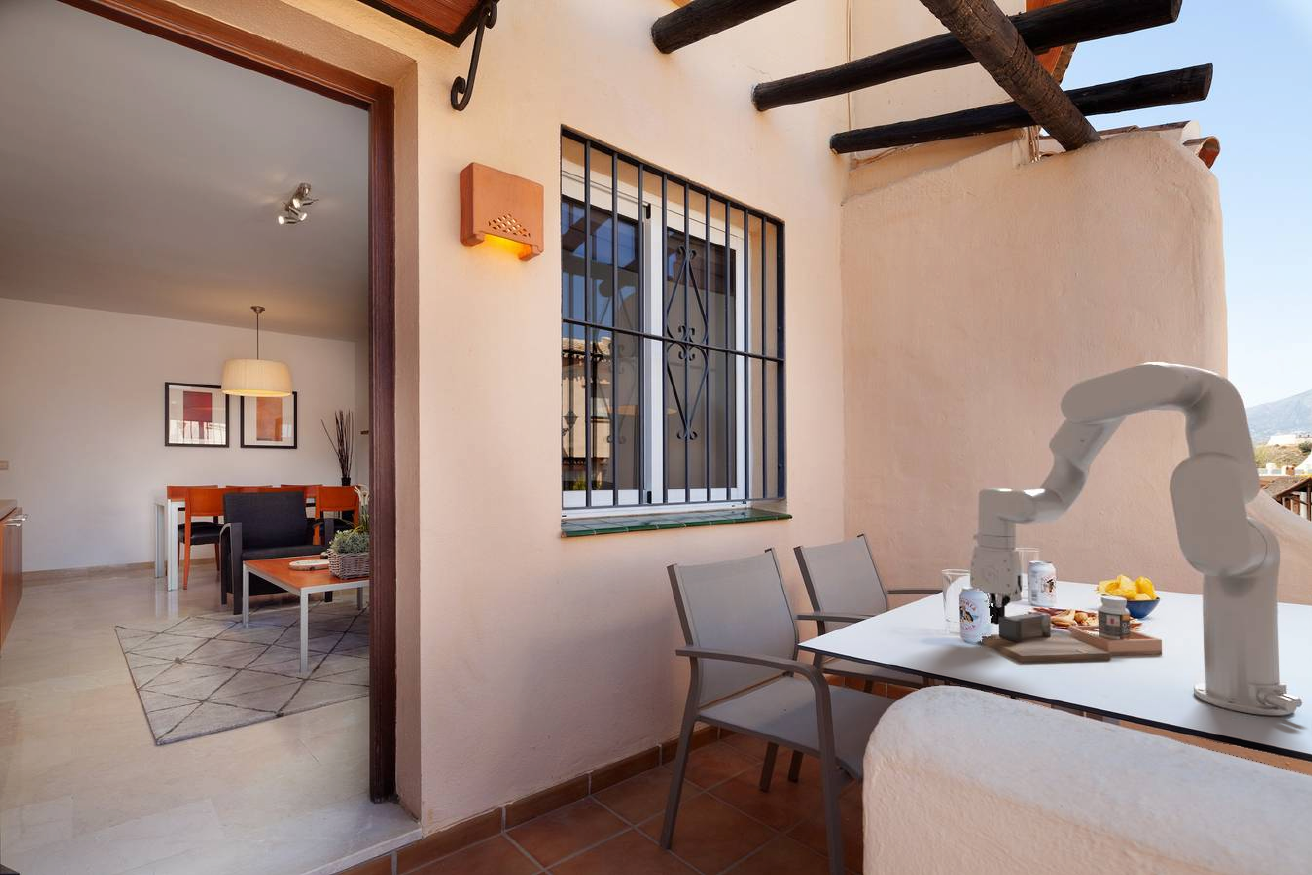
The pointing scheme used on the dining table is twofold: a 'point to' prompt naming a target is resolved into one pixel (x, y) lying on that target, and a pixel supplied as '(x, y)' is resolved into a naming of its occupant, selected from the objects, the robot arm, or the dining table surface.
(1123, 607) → the pill bottle
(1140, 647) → the tray
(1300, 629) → the dining table surface
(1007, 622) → the grey block
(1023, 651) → the cutting board
